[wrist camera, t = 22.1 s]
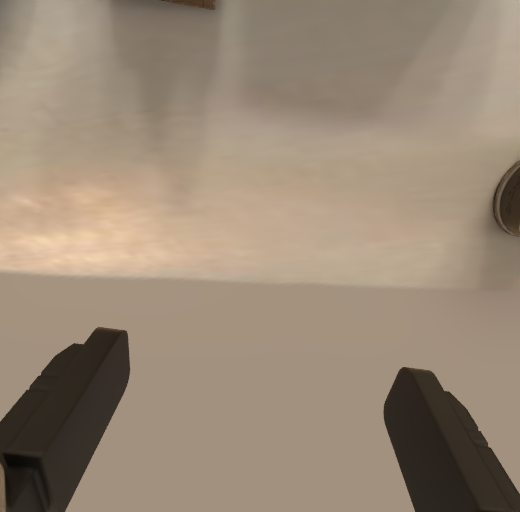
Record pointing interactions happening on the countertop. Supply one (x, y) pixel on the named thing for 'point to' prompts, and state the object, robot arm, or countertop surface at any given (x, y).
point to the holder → (196, 3)
